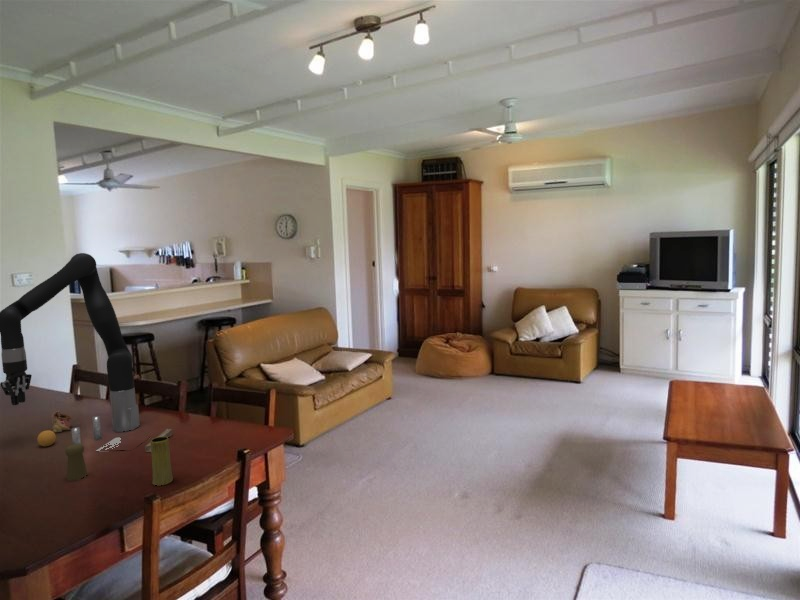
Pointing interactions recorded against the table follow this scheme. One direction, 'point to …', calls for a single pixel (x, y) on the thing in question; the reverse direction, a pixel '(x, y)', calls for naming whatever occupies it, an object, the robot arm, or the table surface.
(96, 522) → the table surface
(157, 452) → the vase
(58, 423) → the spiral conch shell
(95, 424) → the right post
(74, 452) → the olive green pepper mill
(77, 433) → the left post
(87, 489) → the table surface
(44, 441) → the ball
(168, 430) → the stopper wall
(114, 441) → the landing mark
